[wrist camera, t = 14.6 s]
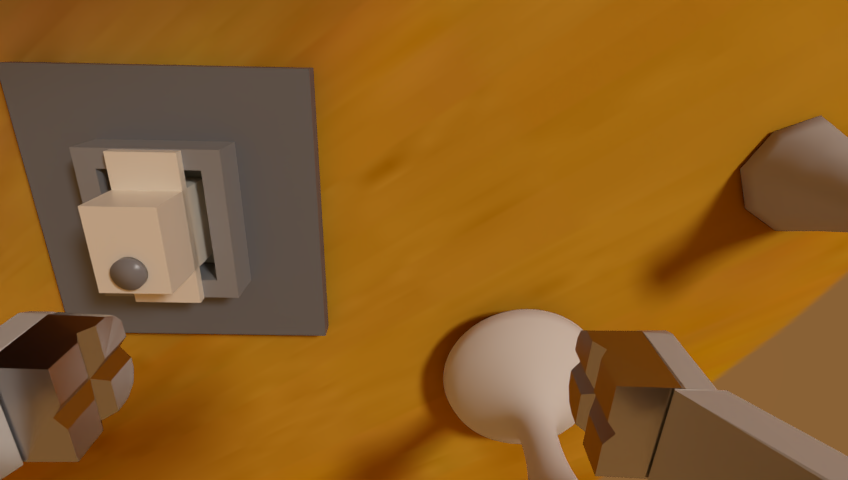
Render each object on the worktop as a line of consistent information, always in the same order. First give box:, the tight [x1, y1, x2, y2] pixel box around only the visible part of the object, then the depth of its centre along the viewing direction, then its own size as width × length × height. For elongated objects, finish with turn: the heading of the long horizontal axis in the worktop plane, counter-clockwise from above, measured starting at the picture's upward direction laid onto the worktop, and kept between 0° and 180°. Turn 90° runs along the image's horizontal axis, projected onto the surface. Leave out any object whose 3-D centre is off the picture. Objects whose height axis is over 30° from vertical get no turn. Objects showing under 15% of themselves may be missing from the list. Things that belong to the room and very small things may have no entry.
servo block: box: [78, 149, 213, 303], centre depth 29 cm, size 9×4×6 cm, turn 179°
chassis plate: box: [0, 62, 328, 336], centre depth 32 cm, size 18×18×4 cm
